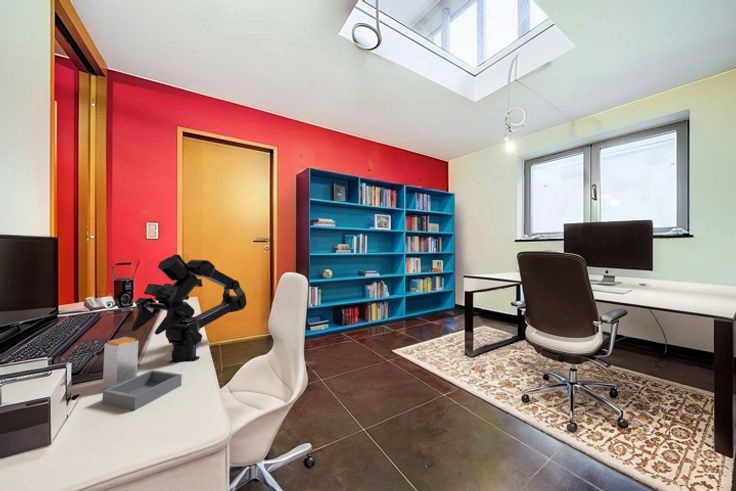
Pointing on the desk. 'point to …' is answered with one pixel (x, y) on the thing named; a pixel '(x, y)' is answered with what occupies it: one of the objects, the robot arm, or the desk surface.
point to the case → (141, 389)
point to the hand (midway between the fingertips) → (144, 332)
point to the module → (120, 361)
